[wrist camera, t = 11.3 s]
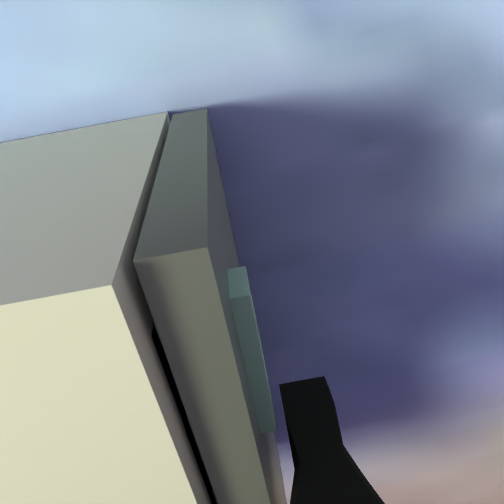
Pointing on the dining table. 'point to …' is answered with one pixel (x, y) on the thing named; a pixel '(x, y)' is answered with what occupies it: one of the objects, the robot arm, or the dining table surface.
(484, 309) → the dining table surface
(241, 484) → the grey box with handle
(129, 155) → the box
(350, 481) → the robot arm
